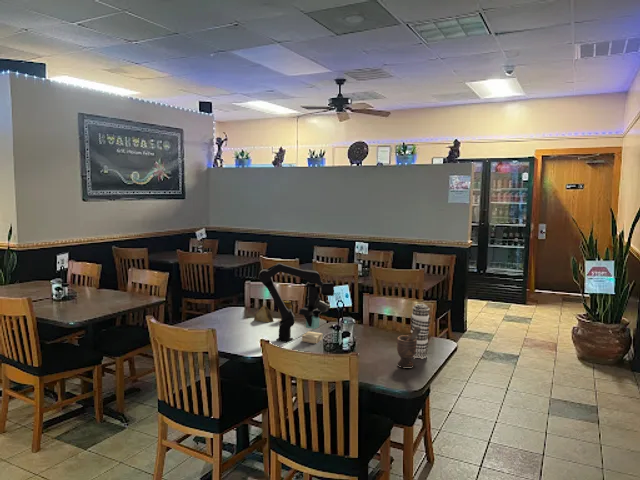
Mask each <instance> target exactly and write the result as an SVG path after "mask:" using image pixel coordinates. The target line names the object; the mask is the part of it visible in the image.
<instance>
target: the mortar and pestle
mask: <svg viewBox="0 0 640 480" xmlns="http://www.w3.org/2000/svg"><path fill="white" fill-rule="evenodd" d="M420 331H421V328H420V327H416V328H415V329H414V330H413V332H412V333H411V334H410V335H408V334H406V335H404V334H402V335H399V336H398V337H397V338H396V339H397V342H396V343H397V344H396V350H397V354H398V356H399V357H400V359H399V360H398V361H397V364H398V365H399V366H401V367H412V366H413V365H414V362H413V361H412V357H413V356H414V354H415V352H416V344H417V339H416V338H415V337H416V336H417V335H418V334H419V333H420Z"/></svg>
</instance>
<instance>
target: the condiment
mask: <svg viewBox="0 0 640 480" xmlns="http://www.w3.org/2000/svg"><path fill="white" fill-rule="evenodd" d="M283 302H284V304H285V306H286V307H287V309H288V310H289V309H291V310H292V309H293V307H292V301H291V300H283ZM292 311H293V310H292ZM280 318H281V319H279V320H278V322H280V321H281V320H282V317H280Z"/></svg>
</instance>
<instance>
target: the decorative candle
mask: <svg viewBox="0 0 640 480" xmlns="http://www.w3.org/2000/svg"><path fill="white" fill-rule="evenodd" d="M430 309H431V308H430V307H429V306H428V305H427V304H424V303H416V304H415V305H414V306H412V313H411V315H410V333H411V334H412V332H413V330H414V329H415V328H416V327H420V328H421V331H420V333H419V334H418V335H417V336H416V337H415V338H416V339H417V344H416V352H415V354H414V356H418V357H419V356H421V357H422V356H423V357H424V356H426V355H427V356H428V353H429V352H428V351H429V349H428V348H429V346H428V345H429V339H428V335H429V332H430V328H429V327H430V323H431V321H430V320H431V317H430V314H429V313H430Z"/></svg>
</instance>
